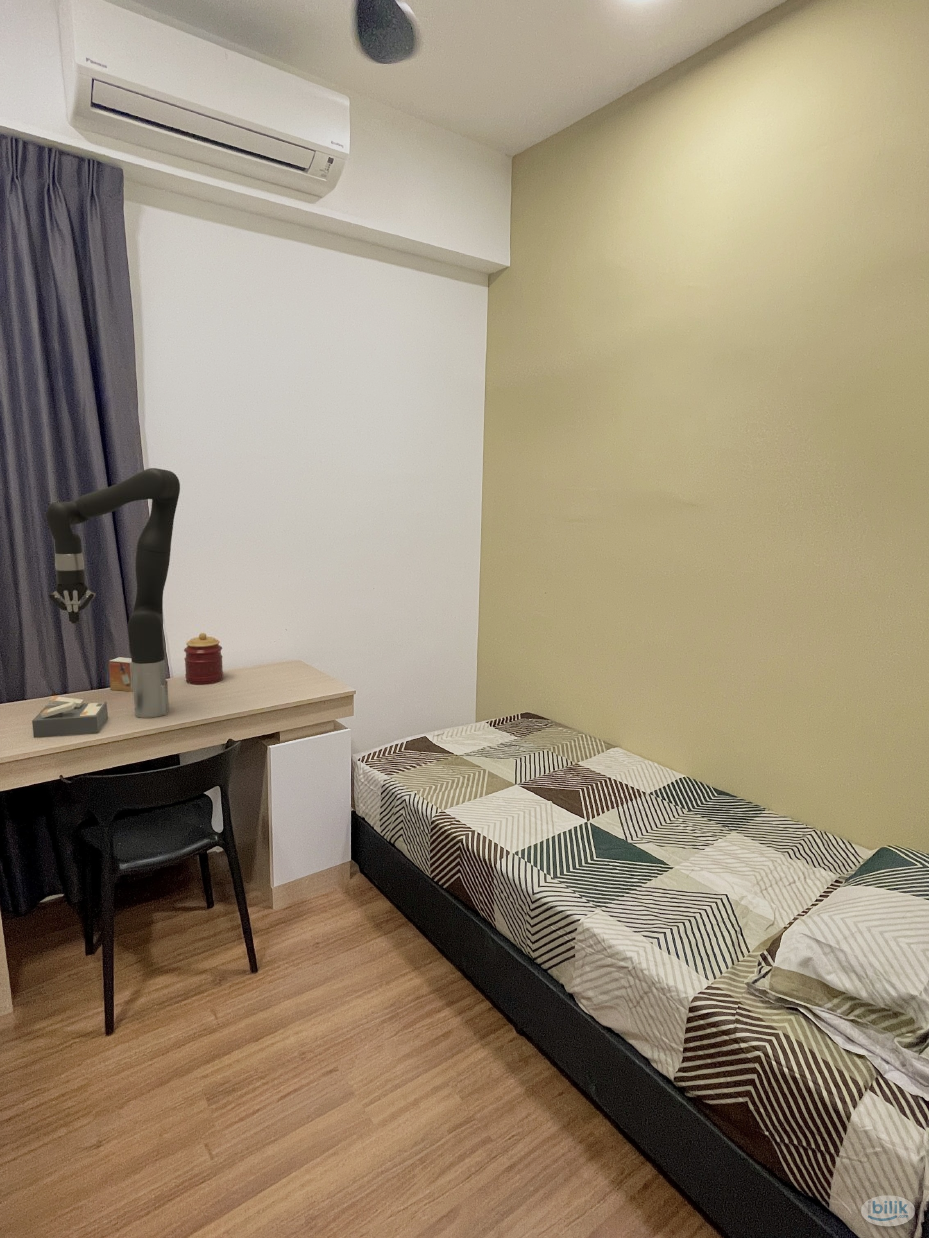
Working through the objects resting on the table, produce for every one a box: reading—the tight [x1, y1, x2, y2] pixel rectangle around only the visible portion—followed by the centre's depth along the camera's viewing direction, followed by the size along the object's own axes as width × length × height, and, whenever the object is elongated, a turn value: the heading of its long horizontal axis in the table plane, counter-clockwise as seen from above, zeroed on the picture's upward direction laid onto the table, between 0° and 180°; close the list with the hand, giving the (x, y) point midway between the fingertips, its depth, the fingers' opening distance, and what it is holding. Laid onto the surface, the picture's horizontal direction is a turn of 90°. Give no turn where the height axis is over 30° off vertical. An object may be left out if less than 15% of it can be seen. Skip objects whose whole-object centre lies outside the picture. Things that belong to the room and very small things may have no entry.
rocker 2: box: [41, 701, 76, 718], centre depth 184 cm, size 8×4×1 cm, turn 107°
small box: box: [108, 656, 134, 693], centre depth 224 cm, size 8×6×10 cm
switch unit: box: [31, 701, 109, 739], centre depth 189 cm, size 16×13×6 cm
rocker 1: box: [48, 695, 84, 707], centre depth 191 cm, size 8×4×1 cm, turn 108°
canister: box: [183, 632, 224, 685], centre depth 237 cm, size 13×13×18 cm
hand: (74, 623), depth 202 cm, fingers closed
